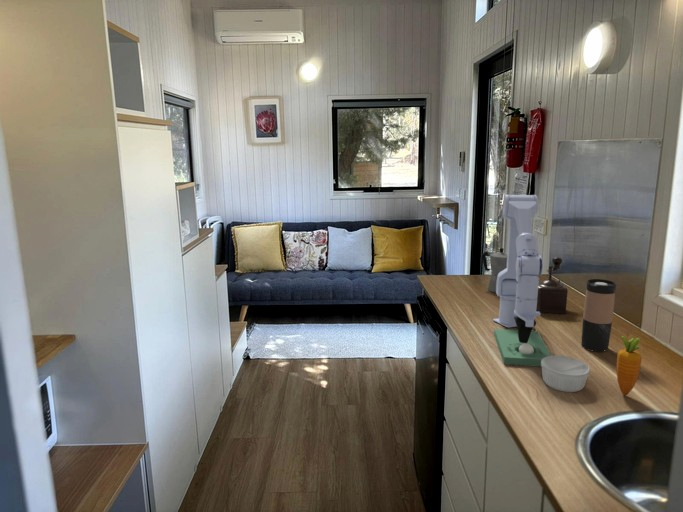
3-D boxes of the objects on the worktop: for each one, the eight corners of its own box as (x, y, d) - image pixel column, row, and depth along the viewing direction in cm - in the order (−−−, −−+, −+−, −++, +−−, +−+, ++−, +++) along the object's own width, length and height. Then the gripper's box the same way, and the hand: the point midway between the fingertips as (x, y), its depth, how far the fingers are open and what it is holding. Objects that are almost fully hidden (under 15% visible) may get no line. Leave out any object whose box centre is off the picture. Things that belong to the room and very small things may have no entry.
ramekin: (584, 399, 117) (587, 378, 115) (535, 387, 122) (537, 367, 121) (590, 380, 126) (592, 361, 125) (543, 370, 132) (545, 352, 131)
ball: (528, 362, 137) (526, 359, 141) (537, 351, 137) (535, 348, 141) (516, 352, 138) (514, 349, 142) (526, 341, 137) (524, 339, 141)
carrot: (608, 391, 120) (615, 333, 117) (627, 390, 120) (634, 332, 117) (621, 401, 115) (628, 341, 112) (641, 400, 116) (649, 340, 112)
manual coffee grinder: (568, 314, 175) (573, 265, 171) (535, 313, 177) (539, 264, 173) (558, 301, 190) (562, 256, 186) (528, 300, 192) (531, 255, 188)
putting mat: (494, 334, 157) (494, 328, 156) (537, 337, 154) (537, 331, 154) (503, 363, 136) (504, 357, 135) (553, 367, 133) (554, 360, 133)
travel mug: (606, 343, 149) (613, 280, 144) (611, 353, 142) (619, 286, 137) (578, 340, 151) (585, 278, 147) (581, 350, 144) (588, 284, 140)
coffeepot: (519, 291, 204) (522, 248, 200) (508, 295, 198) (511, 252, 194) (485, 284, 215) (488, 243, 211) (474, 288, 208) (476, 246, 205)
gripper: (547, 305, 132) (543, 352, 135) (536, 290, 146) (532, 333, 149) (519, 304, 134) (516, 351, 136) (511, 289, 147) (508, 332, 150)
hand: (523, 342), depth 143 cm, fingers closed
